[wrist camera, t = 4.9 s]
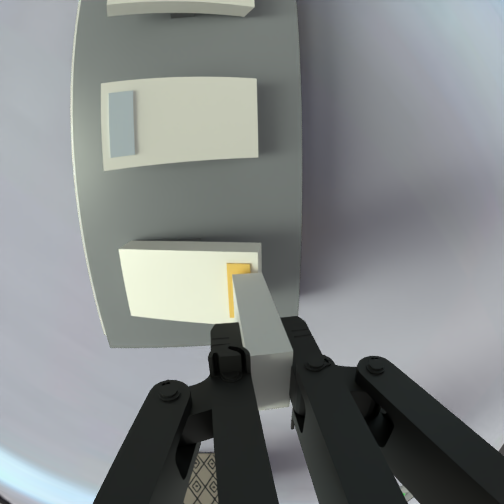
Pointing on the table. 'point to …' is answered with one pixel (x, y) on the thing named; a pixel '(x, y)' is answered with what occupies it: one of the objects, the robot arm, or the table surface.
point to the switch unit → (193, 172)
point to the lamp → (203, 481)
